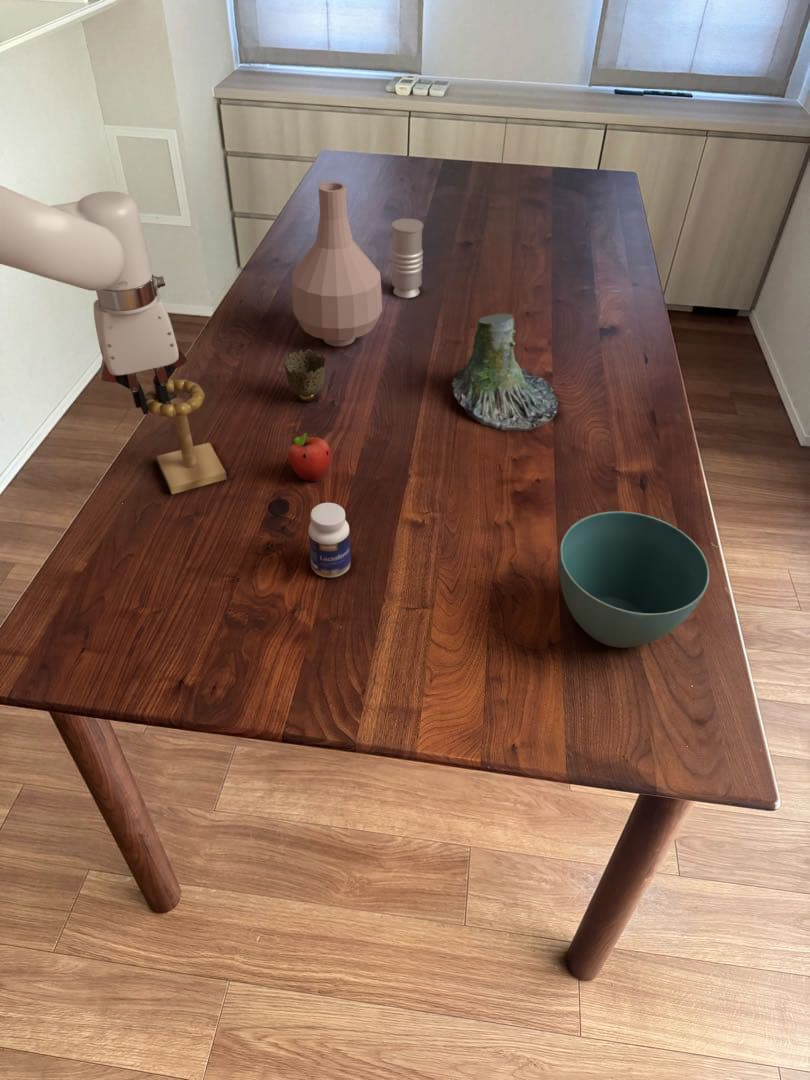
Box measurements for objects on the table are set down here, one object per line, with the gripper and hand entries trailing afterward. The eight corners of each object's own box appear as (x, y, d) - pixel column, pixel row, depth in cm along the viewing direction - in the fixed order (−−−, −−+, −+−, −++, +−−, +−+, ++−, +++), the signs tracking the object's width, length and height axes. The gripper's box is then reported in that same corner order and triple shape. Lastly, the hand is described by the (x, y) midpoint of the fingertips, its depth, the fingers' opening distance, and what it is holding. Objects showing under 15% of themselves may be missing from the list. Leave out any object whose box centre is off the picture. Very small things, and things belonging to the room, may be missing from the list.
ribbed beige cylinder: (420, 284, 181) (422, 218, 170) (422, 298, 176) (424, 231, 165) (390, 284, 180) (390, 218, 170) (391, 298, 175) (391, 231, 165)
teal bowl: (664, 574, 114) (686, 510, 105) (701, 677, 100) (729, 613, 92) (538, 575, 113) (550, 510, 105) (558, 679, 100) (574, 614, 91)
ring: (153, 424, 116) (151, 414, 115) (139, 395, 122) (136, 385, 120) (212, 410, 119) (210, 400, 118) (195, 382, 125) (193, 372, 123)
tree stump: (499, 447, 136) (488, 347, 127) (434, 416, 151) (420, 325, 142) (579, 410, 143) (574, 313, 133) (510, 384, 158) (501, 295, 149)
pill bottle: (322, 584, 111) (318, 532, 104) (304, 560, 115) (298, 508, 108) (358, 569, 114) (356, 517, 107) (339, 546, 117) (336, 494, 110)
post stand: (171, 494, 125) (154, 423, 116) (157, 463, 131) (140, 393, 122) (227, 479, 128) (214, 408, 119) (210, 449, 134) (197, 379, 125)
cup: (336, 398, 146) (334, 359, 140) (306, 414, 142) (302, 375, 136) (309, 383, 150) (306, 344, 144) (279, 398, 146) (274, 359, 140)
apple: (287, 466, 131) (281, 415, 124) (328, 460, 132) (324, 410, 125) (294, 495, 125) (289, 444, 119) (336, 489, 127) (334, 437, 120)
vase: (313, 312, 170) (303, 165, 149) (392, 324, 167) (393, 175, 146) (282, 352, 158) (267, 198, 137) (367, 366, 154) (364, 210, 134)
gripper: (177, 270, 112) (198, 383, 124) (59, 291, 106) (94, 407, 119) (192, 292, 107) (212, 407, 119) (69, 315, 101) (104, 433, 114)
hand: (153, 406), depth 119 cm, fingers closed on ring, 2 cm apart
